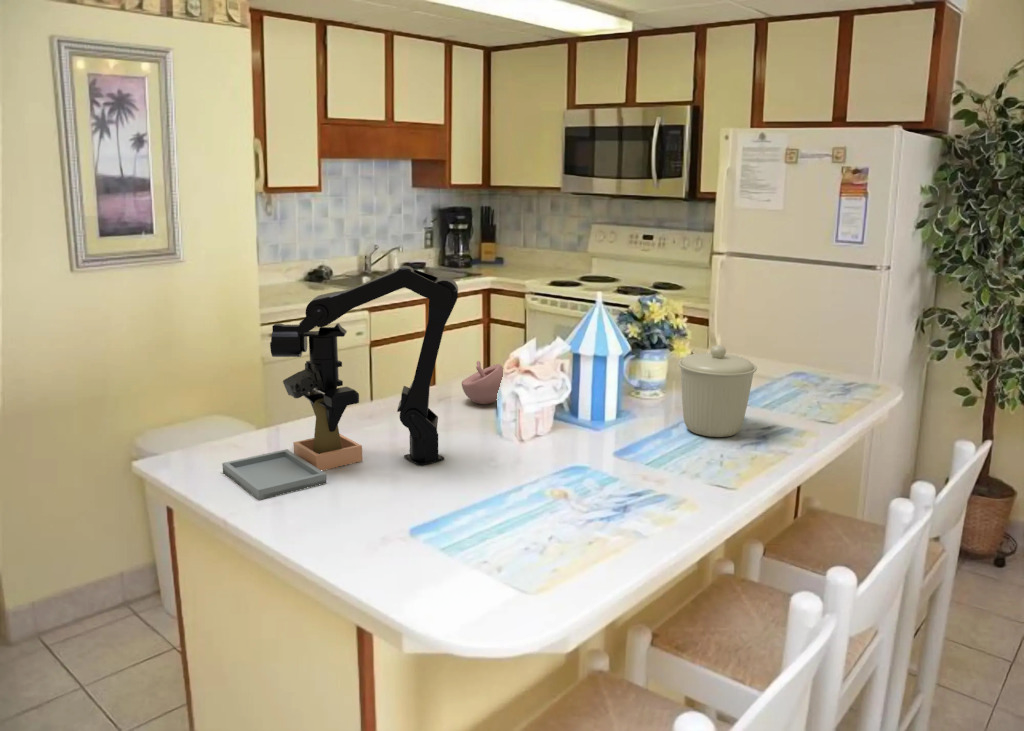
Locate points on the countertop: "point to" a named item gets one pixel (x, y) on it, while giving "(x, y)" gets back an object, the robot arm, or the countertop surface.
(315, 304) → the robot arm
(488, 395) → the mortar and pestle
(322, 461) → the holder
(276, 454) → the tray
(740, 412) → the canister
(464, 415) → the countertop surface
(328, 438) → the olive tapered piece
